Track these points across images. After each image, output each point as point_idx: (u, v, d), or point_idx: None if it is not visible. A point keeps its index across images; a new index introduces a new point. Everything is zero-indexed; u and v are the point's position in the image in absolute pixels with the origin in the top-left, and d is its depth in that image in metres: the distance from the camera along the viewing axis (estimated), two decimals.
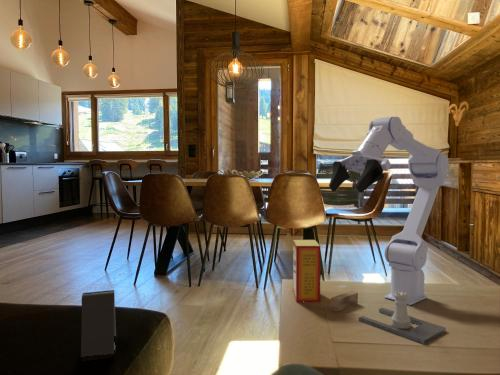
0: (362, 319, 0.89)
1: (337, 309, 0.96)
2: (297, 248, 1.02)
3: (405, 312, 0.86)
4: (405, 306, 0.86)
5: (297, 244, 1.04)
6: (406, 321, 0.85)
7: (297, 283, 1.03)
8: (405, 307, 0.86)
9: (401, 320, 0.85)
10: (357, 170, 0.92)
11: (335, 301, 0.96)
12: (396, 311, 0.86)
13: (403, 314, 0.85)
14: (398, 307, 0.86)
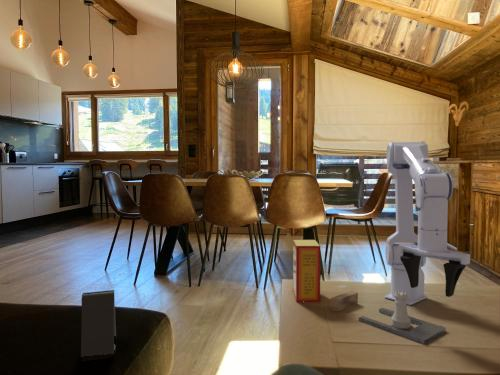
0: (362, 319, 0.89)
1: (337, 309, 0.96)
2: (297, 248, 1.02)
3: (405, 312, 0.86)
4: (405, 306, 0.86)
5: (297, 244, 1.04)
6: (406, 321, 0.85)
7: (297, 283, 1.03)
8: (405, 307, 0.86)
9: (401, 320, 0.85)
10: None
11: (335, 301, 0.96)
12: (396, 311, 0.86)
13: (403, 314, 0.85)
14: (398, 307, 0.86)
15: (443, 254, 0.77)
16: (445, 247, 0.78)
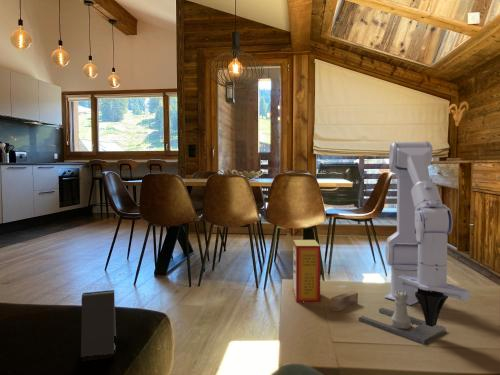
0: (362, 319, 0.89)
1: (337, 309, 0.96)
2: (297, 248, 1.02)
3: (405, 312, 0.86)
4: (405, 306, 0.86)
5: (297, 244, 1.04)
6: (406, 321, 0.85)
7: (297, 283, 1.03)
8: (405, 307, 0.86)
9: (401, 320, 0.85)
10: None
11: (335, 301, 0.96)
12: (396, 311, 0.86)
13: (403, 314, 0.85)
14: (398, 307, 0.86)
15: (443, 289, 0.77)
16: (445, 282, 0.79)
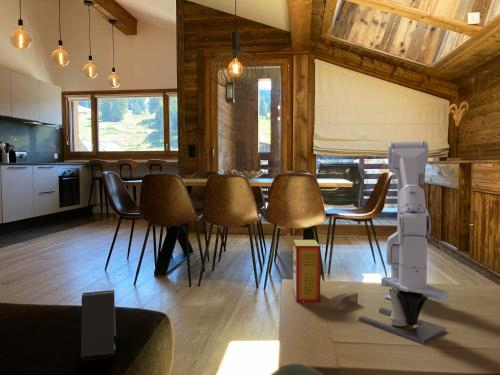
0: (362, 319, 0.89)
1: (337, 309, 0.96)
2: (297, 248, 1.02)
3: (402, 309, 0.86)
4: None
5: (297, 244, 1.04)
6: (404, 317, 0.85)
7: (297, 283, 1.03)
8: None
9: (399, 317, 0.85)
10: None
11: (335, 301, 0.96)
12: (393, 309, 0.87)
13: (400, 310, 0.86)
14: (394, 304, 0.87)
15: (422, 291, 0.81)
16: (424, 283, 0.82)
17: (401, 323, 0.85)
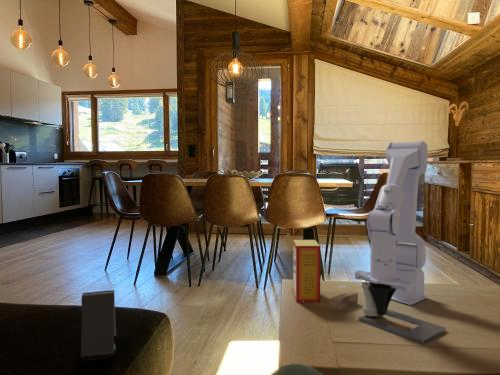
0: (362, 319, 0.89)
1: (337, 309, 0.96)
2: (297, 248, 1.02)
3: (373, 300, 0.92)
4: None
5: (297, 244, 1.04)
6: (375, 308, 0.91)
7: (297, 283, 1.03)
8: None
9: (370, 308, 0.91)
10: None
11: (335, 301, 0.96)
12: (365, 300, 0.93)
13: (372, 301, 0.92)
14: (366, 296, 0.92)
15: (390, 282, 0.86)
16: (393, 276, 0.88)
17: (372, 313, 0.91)
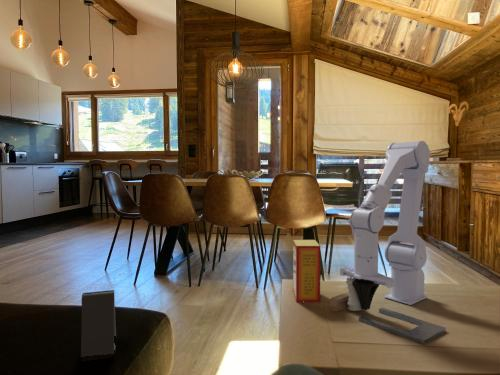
0: (362, 319, 0.89)
1: (337, 309, 0.96)
2: (297, 248, 1.02)
3: (357, 295, 0.96)
4: None
5: (297, 244, 1.04)
6: (358, 302, 0.95)
7: (297, 283, 1.03)
8: None
9: (354, 302, 0.95)
10: None
11: (335, 301, 0.96)
12: (349, 295, 0.96)
13: (355, 296, 0.95)
14: (350, 291, 0.96)
15: (372, 278, 0.90)
16: (375, 272, 0.92)
17: (356, 308, 0.95)
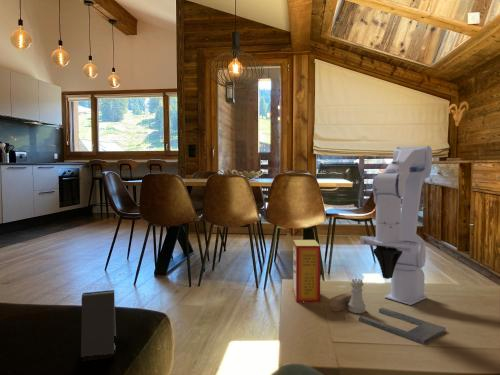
0: (362, 319, 0.89)
1: (337, 309, 0.96)
2: (297, 248, 1.02)
3: (360, 298, 0.95)
4: (360, 293, 0.95)
5: (297, 244, 1.04)
6: (360, 306, 0.94)
7: (297, 283, 1.03)
8: (360, 294, 0.95)
9: (356, 305, 0.95)
10: None
11: (335, 301, 0.96)
12: (352, 297, 0.96)
13: (358, 299, 0.95)
14: (354, 294, 0.95)
15: (395, 244, 0.87)
16: (398, 238, 0.89)
17: (356, 311, 0.94)
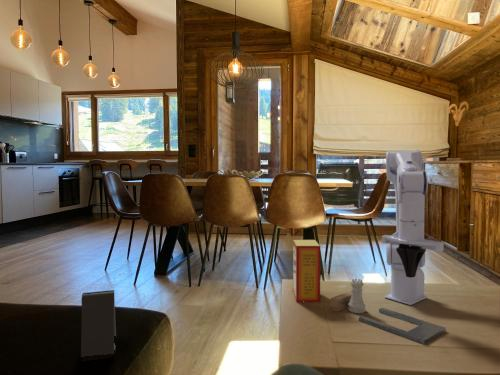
0: (362, 319, 0.89)
1: (337, 309, 0.96)
2: (297, 248, 1.02)
3: (360, 298, 0.95)
4: (360, 293, 0.95)
5: (297, 244, 1.04)
6: (360, 306, 0.94)
7: (297, 283, 1.03)
8: (360, 294, 0.95)
9: (356, 305, 0.95)
10: None
11: (335, 301, 0.96)
12: (352, 297, 0.96)
13: (358, 299, 0.95)
14: (354, 294, 0.95)
15: (420, 242, 0.87)
16: (422, 237, 0.88)
17: (356, 311, 0.94)
